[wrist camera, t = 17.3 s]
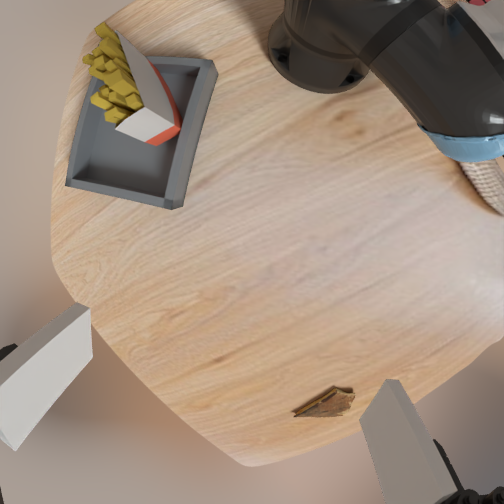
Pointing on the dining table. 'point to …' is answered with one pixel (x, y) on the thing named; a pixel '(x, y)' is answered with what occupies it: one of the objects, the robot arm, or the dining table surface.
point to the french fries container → (132, 90)
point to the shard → (328, 405)
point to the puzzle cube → (478, 2)
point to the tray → (138, 152)
